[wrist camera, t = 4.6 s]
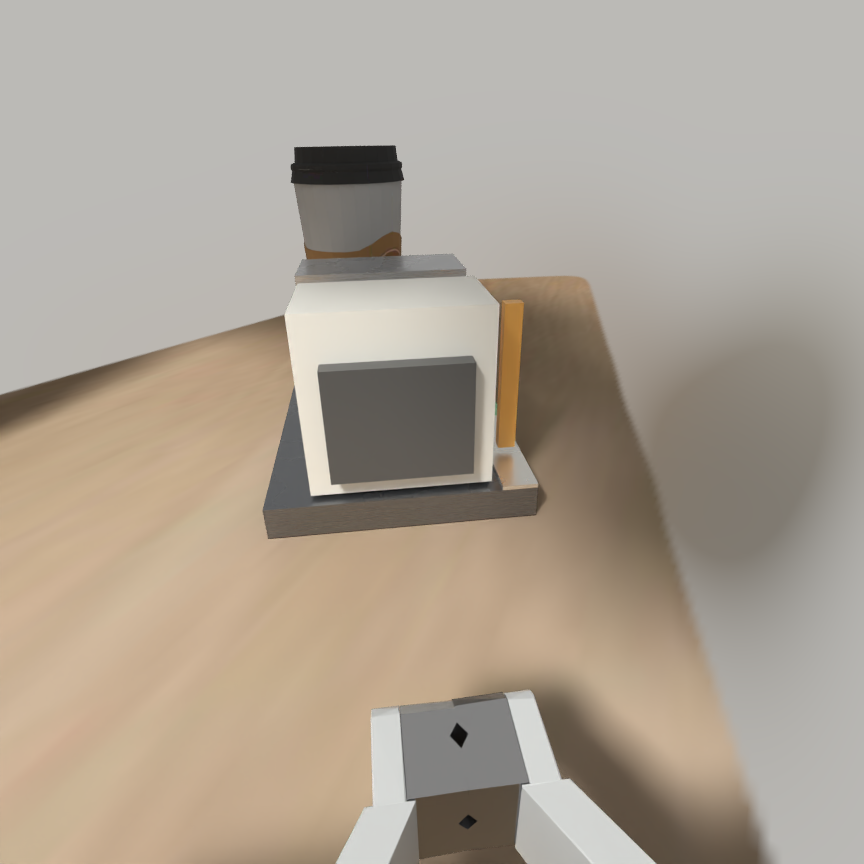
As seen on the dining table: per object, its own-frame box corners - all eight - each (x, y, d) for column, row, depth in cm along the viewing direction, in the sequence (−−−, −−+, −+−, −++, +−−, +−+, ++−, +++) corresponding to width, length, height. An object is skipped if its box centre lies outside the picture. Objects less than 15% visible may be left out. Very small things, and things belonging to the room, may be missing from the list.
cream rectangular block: (531, 488, 24) (547, 307, 20) (309, 506, 23) (281, 320, 19) (500, 427, 29) (508, 274, 25) (317, 440, 28) (297, 283, 24)
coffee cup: (371, 368, 41) (354, 146, 34) (290, 350, 45) (261, 148, 38) (428, 338, 48) (424, 144, 41) (353, 324, 51) (338, 146, 44)
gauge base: (536, 514, 25) (553, 335, 21) (268, 538, 24) (231, 353, 20) (466, 370, 41) (468, 253, 37) (303, 380, 39) (286, 260, 35)
